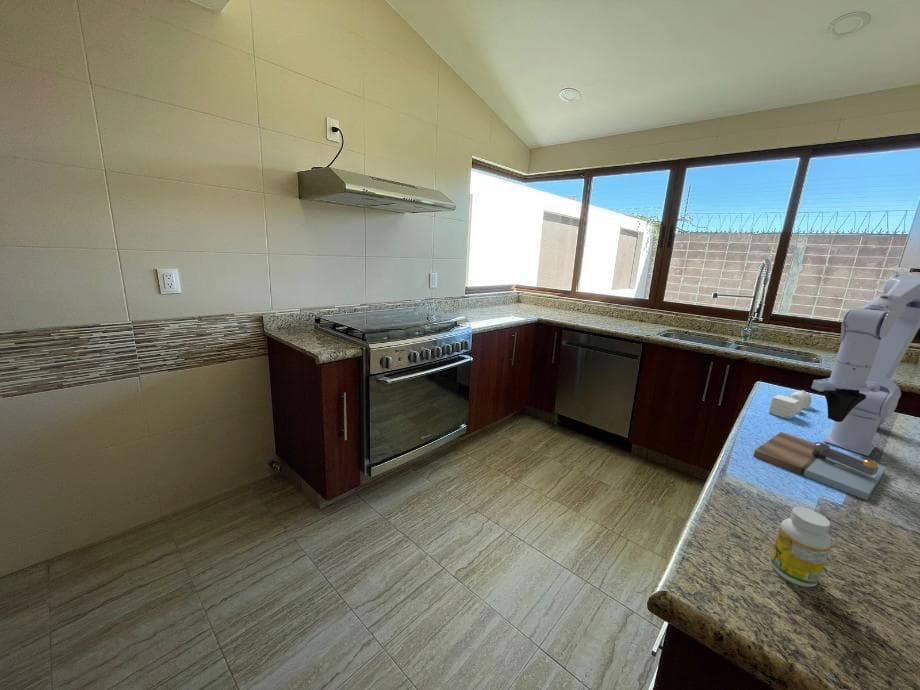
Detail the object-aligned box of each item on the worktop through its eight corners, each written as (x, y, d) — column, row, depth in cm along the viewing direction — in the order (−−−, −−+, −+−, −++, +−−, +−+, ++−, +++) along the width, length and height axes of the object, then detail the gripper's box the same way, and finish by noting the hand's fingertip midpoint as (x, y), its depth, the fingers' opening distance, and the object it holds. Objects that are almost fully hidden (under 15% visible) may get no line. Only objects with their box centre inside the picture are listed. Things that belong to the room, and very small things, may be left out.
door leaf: (826, 453, 90) (828, 446, 90) (883, 473, 83) (886, 466, 82) (803, 475, 80) (805, 468, 80) (866, 500, 73) (869, 493, 72)
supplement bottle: (818, 595, 51) (839, 536, 49) (768, 573, 54) (786, 516, 52) (815, 571, 55) (835, 515, 53) (769, 551, 58) (786, 498, 56)
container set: (789, 420, 108) (794, 403, 107) (767, 413, 113) (772, 396, 111) (812, 407, 119) (817, 391, 118) (791, 401, 123) (796, 386, 122)
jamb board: (779, 437, 97) (781, 431, 97) (826, 453, 90) (828, 447, 90) (753, 455, 87) (755, 449, 87) (803, 475, 80) (805, 469, 80)
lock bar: (809, 453, 86) (813, 440, 85) (815, 451, 87) (819, 439, 86) (869, 479, 77) (874, 465, 76) (875, 476, 78) (880, 463, 77)
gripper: (843, 368, 78) (824, 427, 82) (904, 369, 80) (883, 428, 83) (809, 358, 85) (793, 413, 88) (867, 360, 86) (848, 414, 90)
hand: (834, 419), depth 86 cm, fingers closed
